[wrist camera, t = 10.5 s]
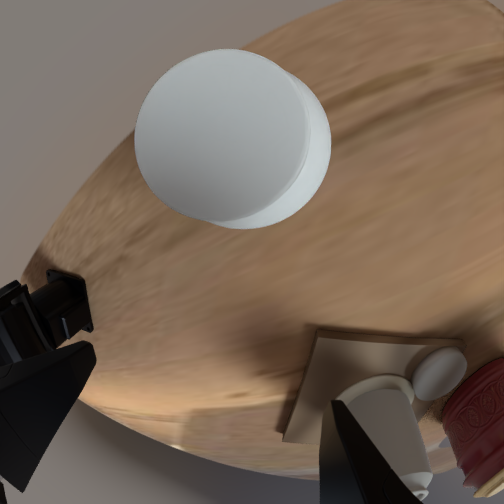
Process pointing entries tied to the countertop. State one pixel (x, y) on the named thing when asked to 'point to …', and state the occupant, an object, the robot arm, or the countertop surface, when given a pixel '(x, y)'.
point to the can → (395, 435)
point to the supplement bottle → (232, 140)
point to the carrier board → (371, 375)
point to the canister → (479, 429)
